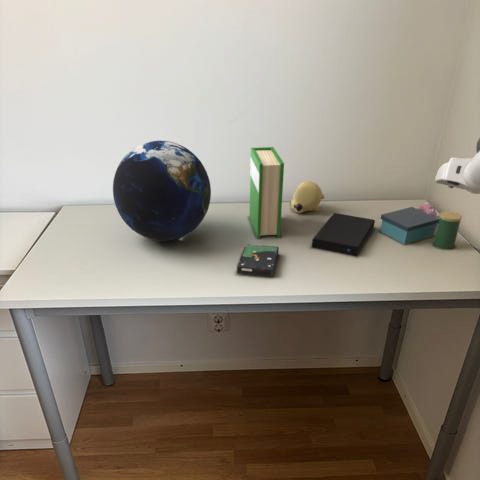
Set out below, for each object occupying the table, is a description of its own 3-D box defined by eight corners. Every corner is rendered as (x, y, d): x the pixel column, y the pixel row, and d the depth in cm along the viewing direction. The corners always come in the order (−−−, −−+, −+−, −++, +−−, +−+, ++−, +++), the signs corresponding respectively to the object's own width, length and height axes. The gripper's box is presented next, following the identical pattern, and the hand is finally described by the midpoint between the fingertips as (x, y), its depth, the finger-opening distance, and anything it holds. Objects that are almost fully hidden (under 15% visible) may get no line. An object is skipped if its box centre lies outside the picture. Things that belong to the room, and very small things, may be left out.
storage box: (408, 223, 177) (412, 206, 173) (435, 236, 168) (439, 218, 165) (378, 231, 171) (381, 214, 167) (404, 245, 162) (408, 227, 159)
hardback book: (279, 237, 167) (284, 163, 153) (257, 238, 166) (259, 164, 152) (270, 216, 181) (273, 147, 168) (249, 217, 180) (250, 147, 167)
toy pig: (299, 214, 192) (280, 198, 186) (321, 189, 189) (302, 171, 183) (309, 224, 184) (289, 207, 178) (332, 197, 181) (312, 179, 175)
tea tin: (442, 239, 166) (450, 210, 160) (458, 246, 162) (466, 216, 156) (429, 243, 163) (436, 213, 158) (444, 251, 159) (452, 220, 153)
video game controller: (427, 230, 175) (441, 213, 172) (417, 224, 174) (430, 207, 171) (419, 219, 184) (432, 202, 180) (409, 213, 182) (422, 196, 179)
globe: (230, 234, 168) (230, 140, 152) (164, 267, 149) (155, 164, 132) (167, 211, 184) (160, 124, 167) (100, 238, 165) (84, 143, 148)
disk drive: (272, 278, 144) (278, 254, 156) (273, 269, 143) (278, 245, 155) (236, 275, 146) (245, 251, 158) (236, 266, 144) (245, 243, 156)
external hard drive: (373, 228, 173) (375, 219, 171) (356, 256, 156) (357, 247, 154) (332, 220, 178) (333, 212, 176) (311, 247, 160) (312, 238, 159)
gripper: (523, 173, 135) (507, 187, 149) (445, 155, 139) (435, 170, 152) (516, 197, 135) (500, 208, 149) (438, 178, 139) (429, 191, 153)
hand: (467, 189), depth 151 cm, fingers open, 8 cm apart
